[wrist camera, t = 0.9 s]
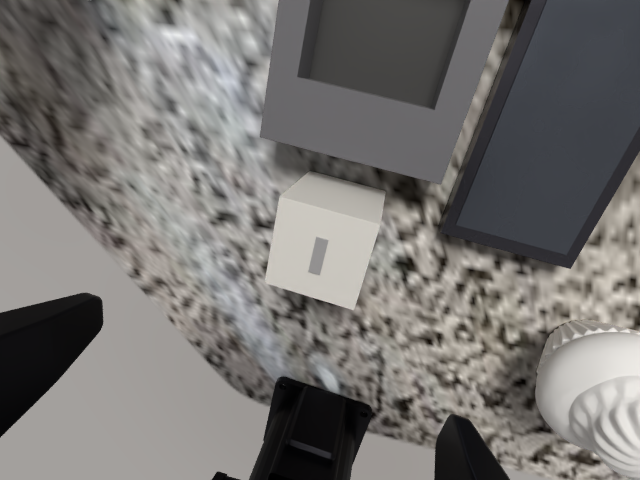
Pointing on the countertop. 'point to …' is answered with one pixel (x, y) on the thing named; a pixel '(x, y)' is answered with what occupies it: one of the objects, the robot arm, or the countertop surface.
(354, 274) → the block
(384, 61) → the grey tray
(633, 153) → the phone
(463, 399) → the countertop surface
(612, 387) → the white ribbed lump
